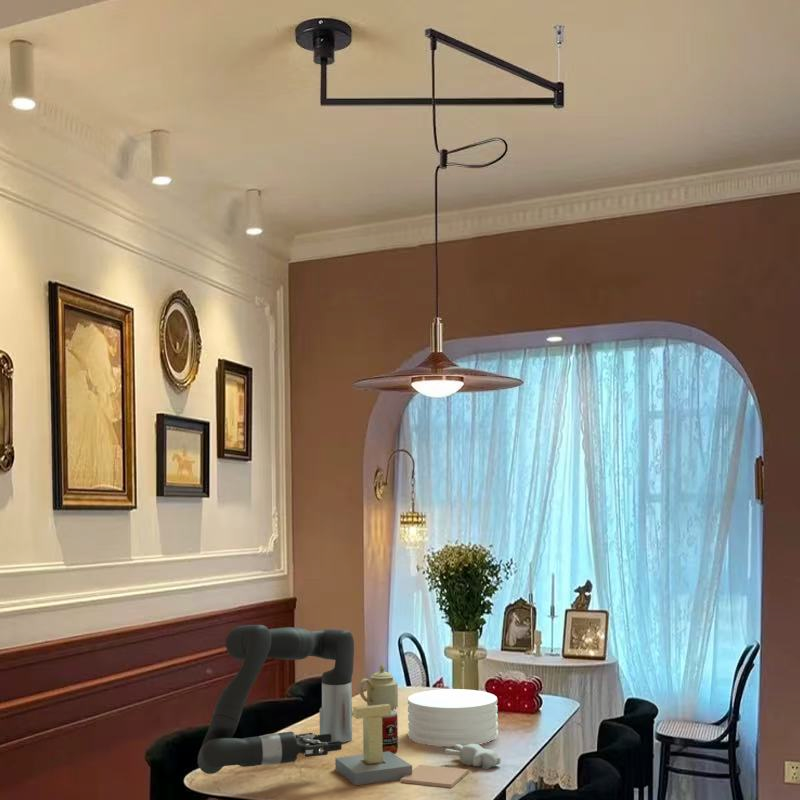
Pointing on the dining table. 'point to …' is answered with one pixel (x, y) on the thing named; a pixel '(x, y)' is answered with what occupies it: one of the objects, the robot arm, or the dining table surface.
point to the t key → (372, 731)
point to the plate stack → (452, 717)
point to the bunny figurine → (475, 755)
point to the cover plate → (372, 769)
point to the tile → (435, 776)
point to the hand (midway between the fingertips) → (335, 741)
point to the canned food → (390, 732)
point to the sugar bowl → (380, 689)
